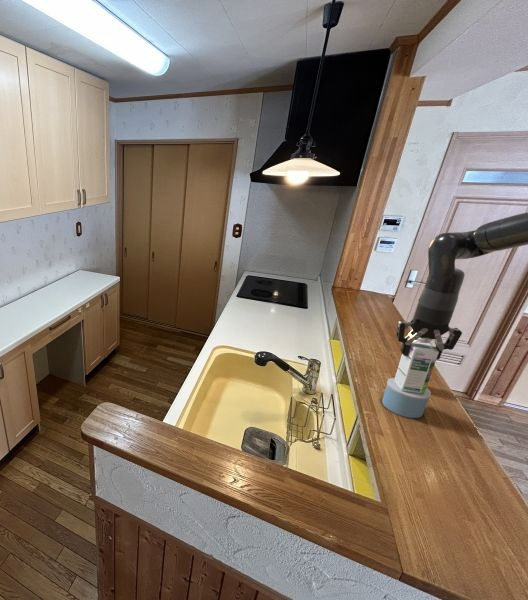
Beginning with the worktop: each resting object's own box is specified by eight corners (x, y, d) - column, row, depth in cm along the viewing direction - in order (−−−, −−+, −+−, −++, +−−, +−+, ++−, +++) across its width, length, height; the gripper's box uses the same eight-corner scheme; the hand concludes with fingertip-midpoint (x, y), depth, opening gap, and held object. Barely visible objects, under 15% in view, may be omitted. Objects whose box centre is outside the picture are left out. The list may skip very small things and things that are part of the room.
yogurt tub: (417, 402, 104) (424, 382, 101) (428, 422, 95) (436, 401, 93) (378, 393, 108) (383, 374, 106) (385, 412, 100) (391, 392, 97)
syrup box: (401, 391, 97) (415, 348, 92) (393, 380, 103) (406, 339, 98) (424, 394, 96) (440, 351, 91) (414, 383, 101) (429, 342, 96)
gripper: (407, 305, 90) (391, 358, 95) (477, 313, 84) (456, 369, 89) (400, 297, 96) (385, 347, 102) (464, 303, 90) (445, 356, 96)
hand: (418, 357), depth 95 cm, fingers closed on syrup box, 6 cm apart
